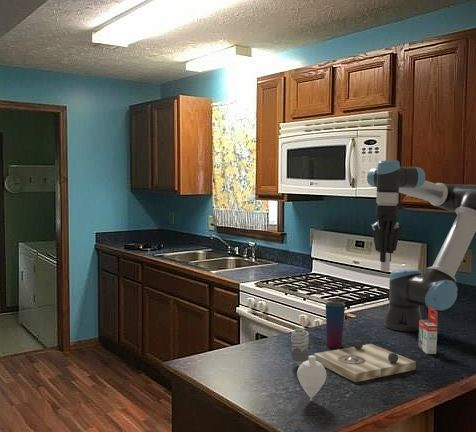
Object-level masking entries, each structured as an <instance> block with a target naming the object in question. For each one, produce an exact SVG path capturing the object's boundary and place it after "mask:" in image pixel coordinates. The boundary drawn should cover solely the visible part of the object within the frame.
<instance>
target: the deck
mask: <svg viewBox="0 0 476 432" xmlns="http://www.w3.org/2000/svg"><path fill="white" fill-rule="evenodd" d="M390 353H394V352H393V351H390V350H388V349H386V348H384V347H380V346H378V345H375V344H373V343H367V344H363V347H362V348H361V349H356V348H355V347H354V346H351V347H344V348H337V349H333V350H326V351H321V352H316V353H314V354H313V356H315V357H316V360H315V361H317V362H320V363H321V364H322V365H323V367H324V368H327V369H328V370H330V371H332V372H334V373H336V374H338V375H339V376H342V377H344V378H346V379H348V380H350V381H351V382H354V383H357V382H358V383H359V382H362V381H368V380H373V379H376V378H382V377H387V376H392V375H396V374H402V373H406V372H411V371H415V370H416V367H417V366H416V365H417V363H416V361H415V360H413V359H410V358H407V357H405V356H402V355H400V354H398V353H396V354H397V355H398V361H397V362H395V363H392V362H390V361H389V359H388V355H389V354H390ZM348 358H354V359H355V361H356V362H347V361H346V360H347V359H348Z"/></svg>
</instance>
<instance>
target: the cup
mask: <svg viewBox="0 0 476 432" xmlns="http://www.w3.org/2000/svg"><path fill="white" fill-rule="evenodd" d="M345 313H346V304H345V303H344V302H339V301H328V302H325V321H326V322H325V325H326V326H325V327H326V346H327V347H328V348H331V349H341V348H342V345H343V333H344V322H345Z"/></svg>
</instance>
